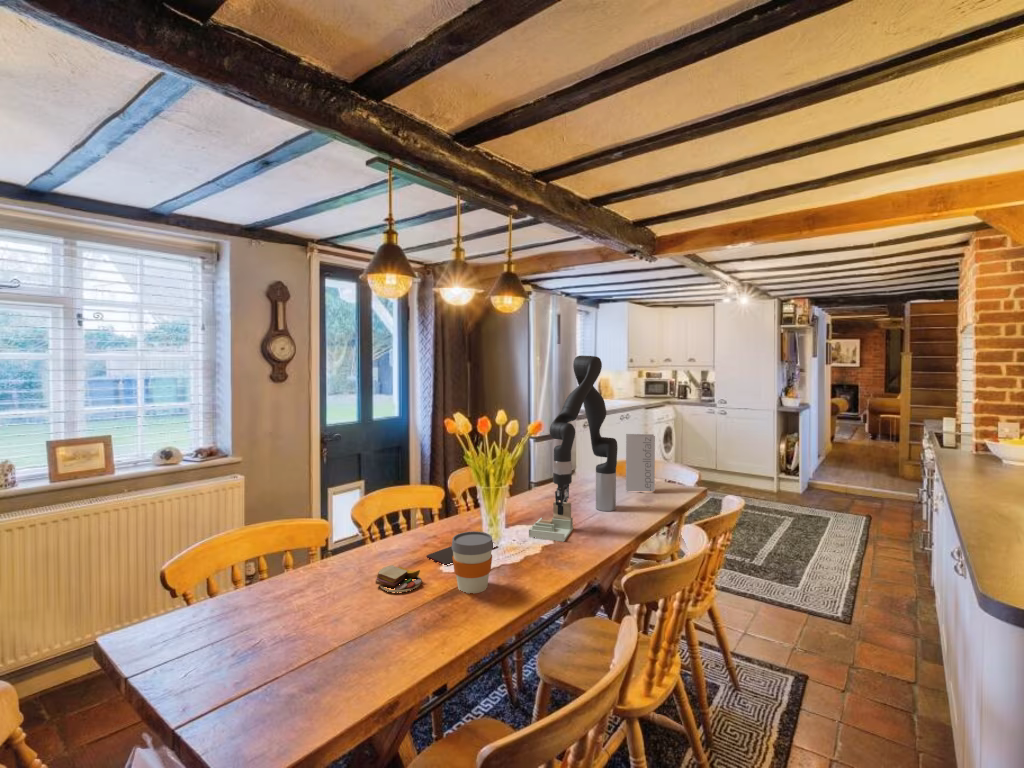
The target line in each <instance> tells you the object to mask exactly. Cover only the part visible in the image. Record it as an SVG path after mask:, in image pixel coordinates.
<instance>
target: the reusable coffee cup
mask: <svg viewBox="0 0 1024 768" xmlns="http://www.w3.org/2000/svg"><path fill="white" fill-rule="evenodd" d="M493 543H494V541H493V536H492V535H491V534H490V533H488V532H484V531H473V530H472V531H465V532H460V533H458V534H455V535H454V536H453V537H452V540H451V546H452V550H453V564H452V565H453V570H454V574H455V575H456V582H457V589H458V590H459V591H460V590H461V591H463V592H462V593H464V592H466V593H465V594H470V593H473V594H478V593H482V592H484V591H485V589H486V588H487V589H488V585H489V576H490V573H491V570H492V562H493V554H492V550H493V549H492V548H493ZM487 589H486V590H487ZM461 591H460V592H461Z"/></svg>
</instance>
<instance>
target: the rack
mask: <svg viewBox="0 0 1024 768" xmlns="http://www.w3.org/2000/svg"><path fill="white" fill-rule="evenodd" d="M540 520H543V517H540V518H539V519H538V520H537V521H536V522H534V524H533V525H532V526H531V527H530V528H529V529H528V538H529V537H536V538H535V539H537V538H543V539H542V540H546V539H550V540H549V541H554V540H555V542H556V541H557V542H561V543H562V542H565V541H566V539H568V537H569V536H570V534H571V532H572V531H573V529H574V524H573V523H574V519H573V517H571V520H562V519H553V517H552V518H551V521H552V524H546V523H538V522H539V521H540Z"/></svg>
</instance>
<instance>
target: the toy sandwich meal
mask: <svg viewBox="0 0 1024 768" xmlns="http://www.w3.org/2000/svg"><path fill="white" fill-rule="evenodd" d="M420 573H421V570H420V569H418V570H409V569H407V568H404V567H402V566H398V567H396V566H394V565H393V564H391V565H387V566H385V567H383V568H381V569H379V570H378V572H377V575H376V579H375V584H376V585H379V587H380V588H381V590H383V591H384V590H385V591H384V592H386V591H388V592H395V593H397V592H398V593H399V592H406V591H410V590H413V589H415V588H416V589H418V588H419V587H420V585H421V584H422V582H423V580H422V577H420V576H419V575H420ZM405 579H407V580H405ZM412 579H416V580H414V581H412ZM399 584H400V585H399ZM384 587H387V588H391V589H394V588H395V590H389V589H386V588H384ZM416 589H415V590H416ZM413 591H414V590H413ZM388 592H387V593H388ZM410 592H411V591H410ZM406 593H407V592H406ZM399 594H400V593H399Z"/></svg>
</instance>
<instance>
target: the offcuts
mask: <svg viewBox="0 0 1024 768" xmlns="http://www.w3.org/2000/svg"><path fill="white" fill-rule="evenodd" d="M538 523H546V524H552V520H549V519H542V520H540V521H539V522H538Z"/></svg>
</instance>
